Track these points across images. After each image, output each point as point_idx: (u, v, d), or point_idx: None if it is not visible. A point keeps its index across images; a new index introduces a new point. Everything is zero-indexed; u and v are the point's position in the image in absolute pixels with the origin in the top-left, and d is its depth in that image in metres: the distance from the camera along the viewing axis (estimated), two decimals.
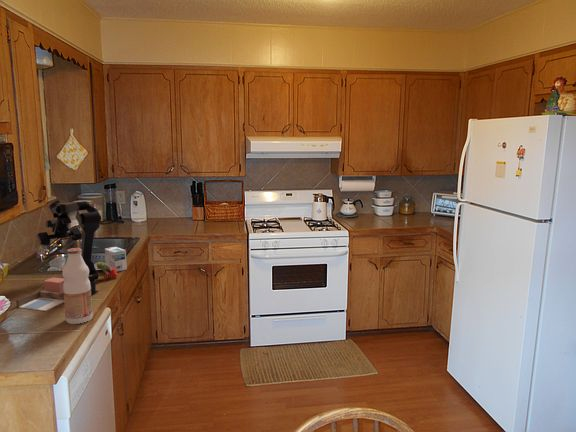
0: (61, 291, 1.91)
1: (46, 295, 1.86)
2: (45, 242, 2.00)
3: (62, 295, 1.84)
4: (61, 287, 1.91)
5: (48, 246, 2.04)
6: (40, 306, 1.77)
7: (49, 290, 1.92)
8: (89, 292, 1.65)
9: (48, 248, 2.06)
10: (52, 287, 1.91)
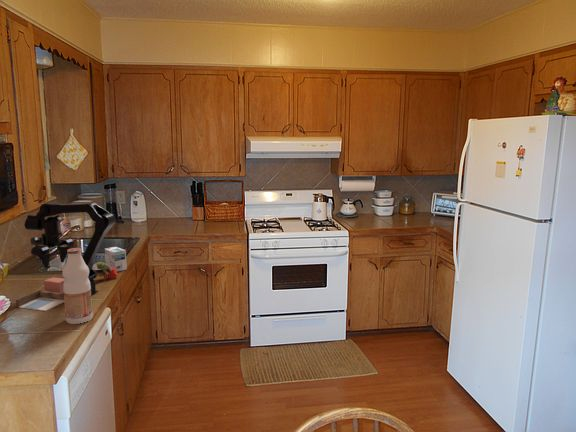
0: (61, 291, 1.91)
1: (46, 295, 1.86)
2: (45, 251, 1.82)
3: (62, 295, 1.84)
4: (61, 287, 1.91)
5: (48, 258, 1.85)
6: (40, 306, 1.77)
7: (49, 290, 1.92)
8: (89, 292, 1.65)
9: (48, 263, 1.86)
10: (52, 287, 1.91)
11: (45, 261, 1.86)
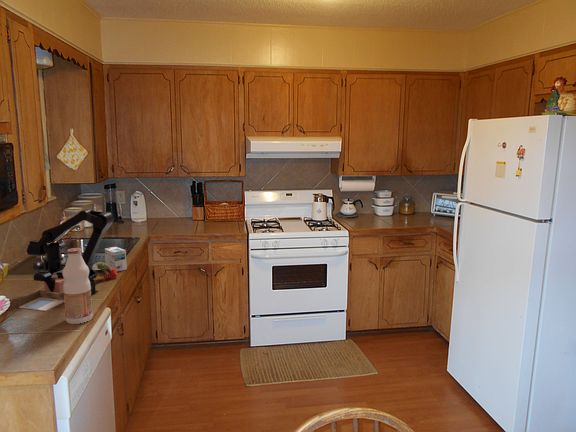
0: (61, 291, 1.91)
1: (46, 295, 1.86)
2: (47, 277, 1.84)
3: (62, 295, 1.84)
4: (61, 287, 1.91)
5: (54, 282, 1.89)
6: (40, 306, 1.77)
7: (49, 290, 1.92)
8: (89, 292, 1.65)
9: (53, 287, 1.90)
10: None
11: (51, 285, 1.89)
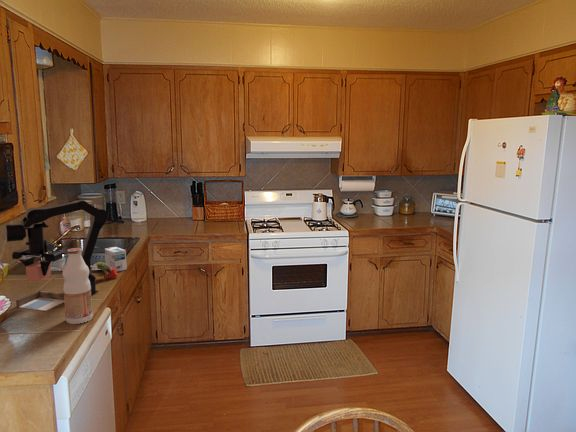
0: (28, 277, 1.76)
1: (46, 295, 1.86)
2: (15, 256, 1.76)
3: (62, 295, 1.84)
4: (28, 272, 1.76)
5: (26, 265, 1.77)
6: (40, 306, 1.77)
7: None
8: (89, 292, 1.65)
9: None
10: None
11: None
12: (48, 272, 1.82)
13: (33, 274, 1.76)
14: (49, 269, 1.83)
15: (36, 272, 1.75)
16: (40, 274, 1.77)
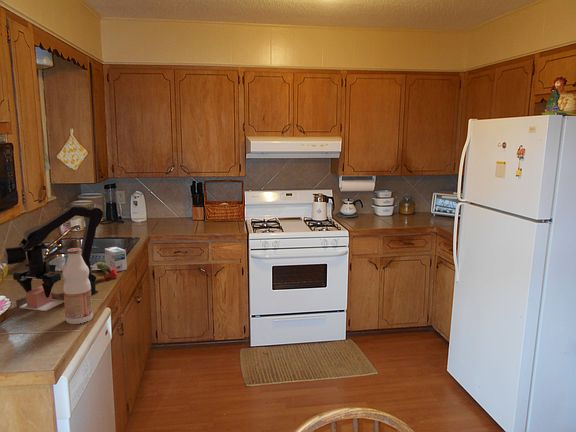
0: (28, 303, 1.76)
1: None
2: (15, 277, 1.77)
3: (62, 295, 1.84)
4: (28, 298, 1.76)
5: (22, 285, 1.78)
6: (40, 306, 1.77)
7: None
8: (89, 292, 1.65)
9: (26, 290, 1.79)
10: None
11: None
12: (49, 298, 1.82)
13: (32, 300, 1.76)
14: (50, 295, 1.82)
15: (35, 298, 1.75)
16: (40, 300, 1.77)
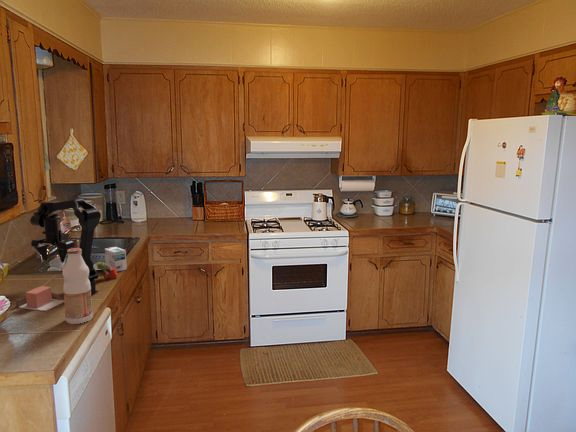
0: (28, 303, 1.76)
1: None
2: (33, 243, 1.97)
3: (62, 295, 1.84)
4: (28, 298, 1.76)
5: (39, 251, 1.98)
6: (40, 306, 1.77)
7: None
8: (89, 292, 1.65)
9: (42, 256, 1.99)
10: None
11: None
12: (49, 298, 1.82)
13: (32, 300, 1.76)
14: (50, 295, 1.82)
15: (35, 298, 1.75)
16: (40, 300, 1.77)
